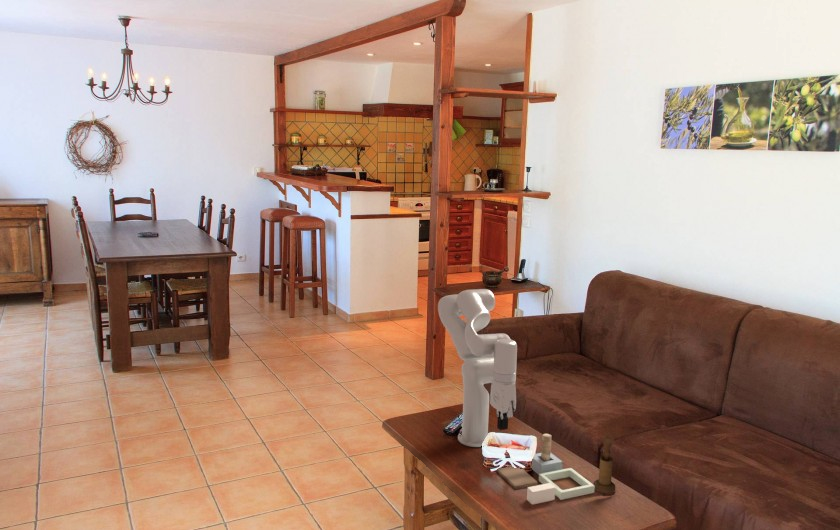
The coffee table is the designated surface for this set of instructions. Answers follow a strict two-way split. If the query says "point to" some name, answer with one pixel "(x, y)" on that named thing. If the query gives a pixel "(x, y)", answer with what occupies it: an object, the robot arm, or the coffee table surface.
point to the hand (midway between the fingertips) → (502, 428)
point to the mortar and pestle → (605, 471)
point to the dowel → (546, 447)
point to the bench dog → (541, 493)
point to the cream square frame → (572, 492)
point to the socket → (546, 464)
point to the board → (517, 477)
